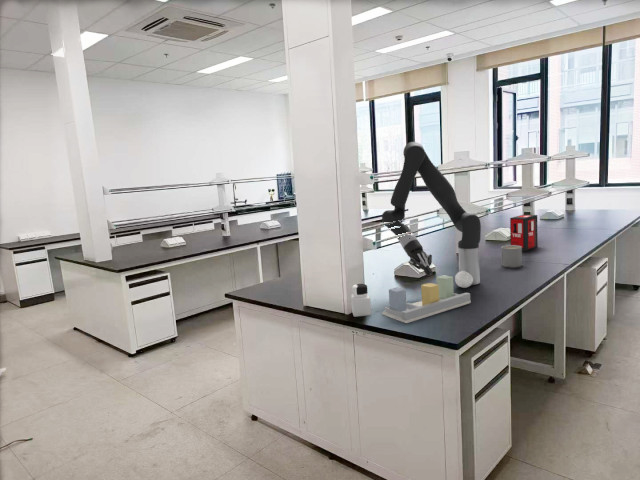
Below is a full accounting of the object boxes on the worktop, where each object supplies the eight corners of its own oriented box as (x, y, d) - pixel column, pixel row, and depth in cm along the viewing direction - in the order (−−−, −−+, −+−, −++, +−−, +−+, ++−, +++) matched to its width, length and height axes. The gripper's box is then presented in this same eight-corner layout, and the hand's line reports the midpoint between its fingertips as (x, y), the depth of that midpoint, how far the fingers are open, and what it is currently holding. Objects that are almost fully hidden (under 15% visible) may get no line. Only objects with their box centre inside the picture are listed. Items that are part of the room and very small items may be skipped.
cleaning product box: (524, 251, 274) (524, 218, 271) (510, 250, 281) (510, 218, 278) (537, 246, 285) (537, 215, 282) (523, 245, 292) (523, 214, 288)
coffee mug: (516, 268, 236) (516, 249, 235) (498, 266, 244) (498, 247, 242) (528, 263, 245) (528, 244, 243) (510, 261, 252) (510, 243, 251)
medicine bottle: (369, 309, 188) (367, 281, 186) (371, 315, 181) (369, 286, 179) (351, 311, 188) (349, 283, 186) (353, 316, 181) (351, 287, 179)
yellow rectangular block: (422, 306, 183) (421, 284, 181) (430, 304, 185) (429, 282, 184) (431, 309, 179) (430, 287, 177) (439, 306, 181) (438, 284, 179)
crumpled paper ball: (460, 290, 205) (460, 274, 204) (451, 286, 212) (451, 270, 211) (476, 288, 207) (475, 271, 206) (466, 284, 214) (466, 268, 213)
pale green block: (437, 297, 193) (436, 276, 192) (444, 295, 195) (444, 274, 194) (446, 299, 189) (445, 278, 188) (453, 297, 191) (453, 276, 190)
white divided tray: (382, 314, 181) (381, 304, 180) (445, 296, 198) (444, 287, 198) (406, 323, 169) (405, 313, 169) (470, 302, 187) (470, 293, 186)
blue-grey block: (389, 311, 180) (388, 289, 179) (398, 308, 183) (397, 287, 181) (398, 314, 176) (396, 291, 175) (406, 311, 178) (405, 289, 177)
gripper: (402, 241, 200) (423, 272, 192) (425, 237, 207) (446, 267, 198) (395, 251, 206) (415, 282, 197) (417, 247, 212) (437, 277, 204)
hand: (430, 274), depth 198 cm, fingers closed
